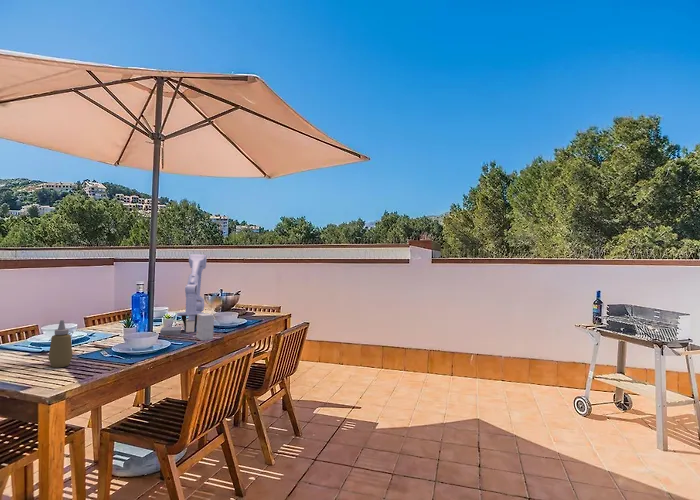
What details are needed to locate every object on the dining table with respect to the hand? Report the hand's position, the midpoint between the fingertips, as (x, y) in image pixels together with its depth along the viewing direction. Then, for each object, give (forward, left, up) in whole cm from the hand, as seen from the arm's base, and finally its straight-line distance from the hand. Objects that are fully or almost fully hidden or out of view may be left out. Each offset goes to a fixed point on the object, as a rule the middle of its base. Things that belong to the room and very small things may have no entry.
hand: (190, 328), depth 258 cm
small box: (+21, +8, -2) cm, 23 cm away
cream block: (0, 0, -1) cm, 1 cm away
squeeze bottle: (+69, -46, -2) cm, 83 cm away
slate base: (+4, -10, -2) cm, 11 cm away
